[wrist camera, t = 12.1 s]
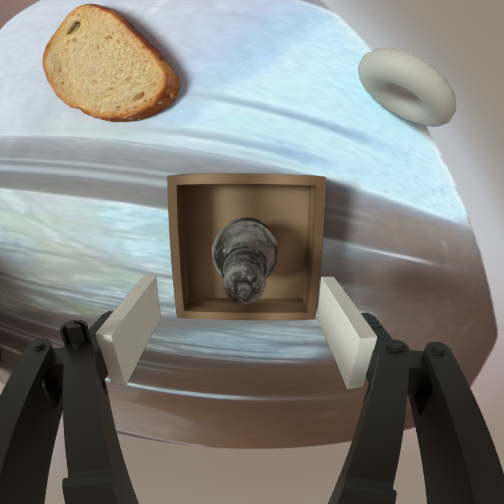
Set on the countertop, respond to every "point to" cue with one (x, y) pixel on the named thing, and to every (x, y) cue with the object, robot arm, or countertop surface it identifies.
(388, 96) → the donut
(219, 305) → the box
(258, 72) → the countertop surface
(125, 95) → the slice of bread
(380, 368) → the robot arm
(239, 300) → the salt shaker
